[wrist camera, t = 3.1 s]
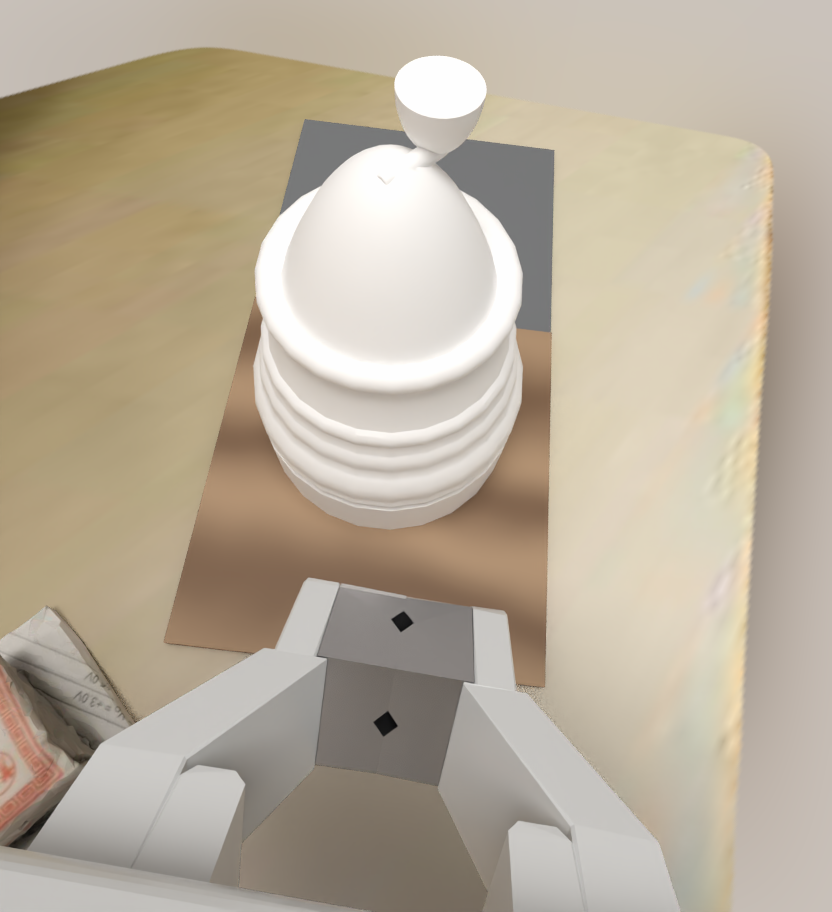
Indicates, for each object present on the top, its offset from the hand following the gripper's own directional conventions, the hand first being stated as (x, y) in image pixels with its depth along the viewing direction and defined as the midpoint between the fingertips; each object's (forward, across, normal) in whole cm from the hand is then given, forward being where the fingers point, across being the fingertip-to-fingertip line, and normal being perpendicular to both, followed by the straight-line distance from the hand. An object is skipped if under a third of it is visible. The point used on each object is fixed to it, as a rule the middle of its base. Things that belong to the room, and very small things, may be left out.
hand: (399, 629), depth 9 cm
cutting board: (+22, +2, +7) cm, 23 cm away
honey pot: (+24, +2, +5) cm, 24 cm away
